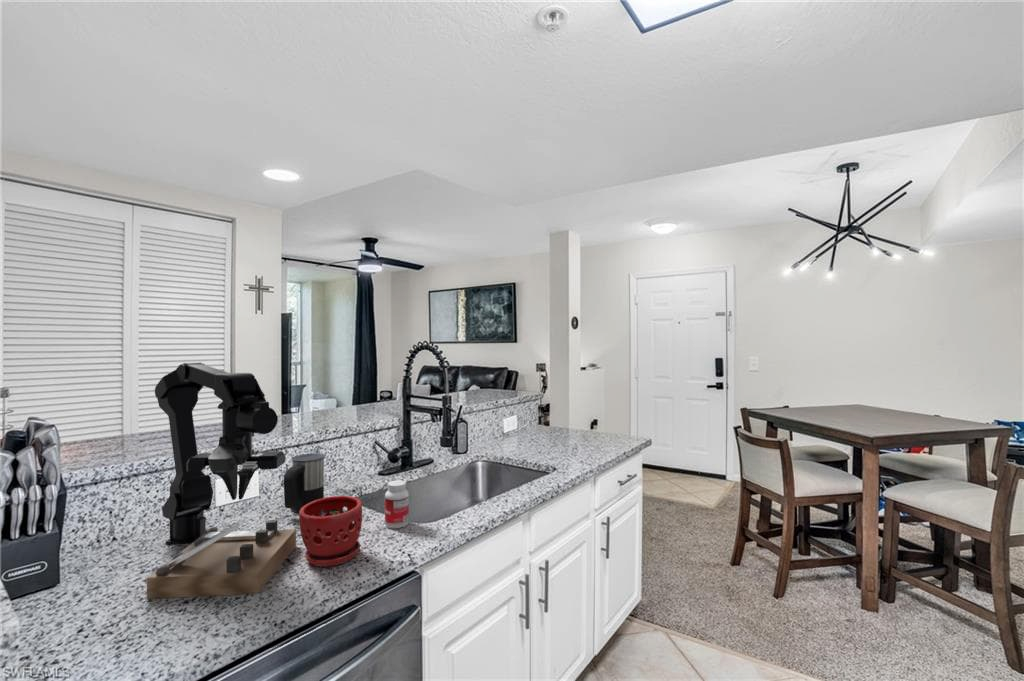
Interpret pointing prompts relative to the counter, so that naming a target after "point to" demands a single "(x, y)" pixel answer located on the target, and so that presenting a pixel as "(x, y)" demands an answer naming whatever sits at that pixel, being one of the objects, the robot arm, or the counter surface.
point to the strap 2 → (238, 535)
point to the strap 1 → (203, 545)
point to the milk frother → (304, 481)
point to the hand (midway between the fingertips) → (237, 499)
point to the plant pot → (331, 530)
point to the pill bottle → (396, 505)
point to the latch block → (224, 566)
